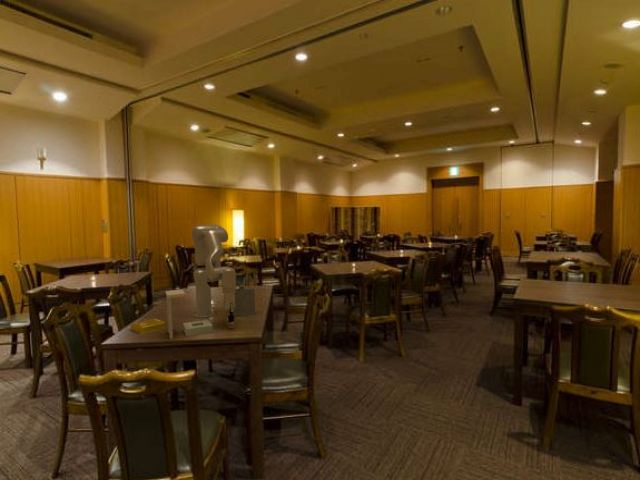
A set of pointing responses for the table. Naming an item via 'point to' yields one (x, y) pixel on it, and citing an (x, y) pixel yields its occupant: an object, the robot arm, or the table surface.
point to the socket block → (189, 327)
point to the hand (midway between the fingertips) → (230, 320)
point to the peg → (229, 324)
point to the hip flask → (244, 302)
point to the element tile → (147, 326)
